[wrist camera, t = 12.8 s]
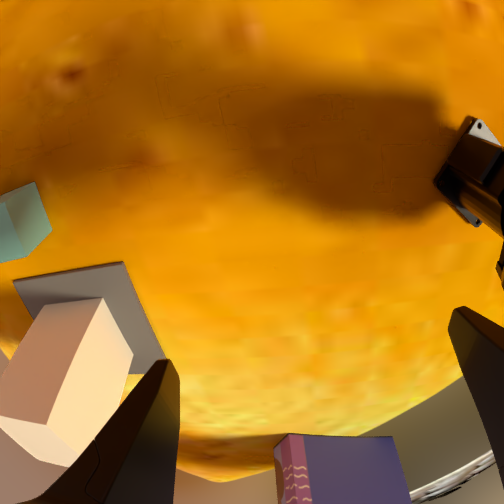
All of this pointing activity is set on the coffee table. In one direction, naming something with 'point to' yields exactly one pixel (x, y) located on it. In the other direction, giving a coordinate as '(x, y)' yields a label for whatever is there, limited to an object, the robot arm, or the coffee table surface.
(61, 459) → the white boxy piece
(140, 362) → the mat
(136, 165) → the coffee table surface
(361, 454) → the cereal box
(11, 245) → the teal cube
